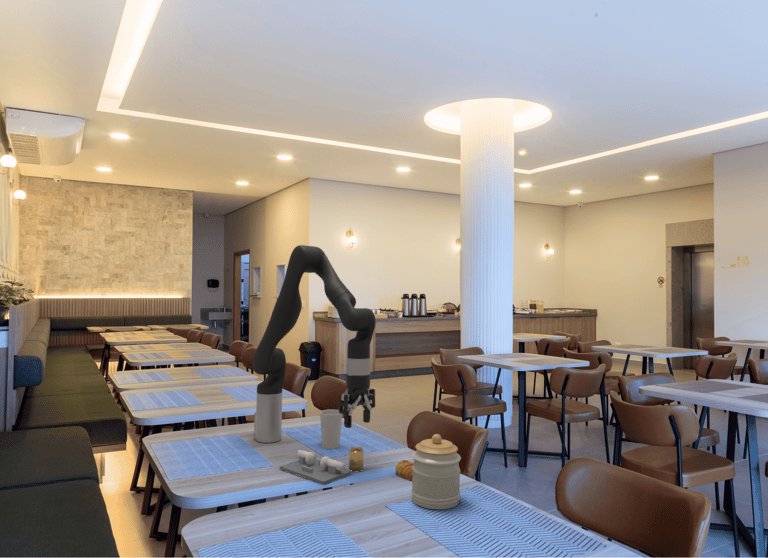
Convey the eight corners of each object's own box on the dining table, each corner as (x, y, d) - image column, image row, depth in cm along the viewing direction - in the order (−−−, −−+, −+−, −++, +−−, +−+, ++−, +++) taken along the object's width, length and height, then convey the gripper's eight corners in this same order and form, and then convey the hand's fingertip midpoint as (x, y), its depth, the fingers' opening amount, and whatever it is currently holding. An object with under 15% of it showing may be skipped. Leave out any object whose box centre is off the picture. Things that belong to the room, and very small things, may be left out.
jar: (403, 494, 147) (404, 430, 147) (444, 488, 152) (445, 426, 152) (425, 513, 135) (426, 443, 135) (469, 506, 140) (470, 438, 140)
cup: (343, 443, 194) (344, 410, 194) (339, 450, 186) (340, 415, 186) (321, 442, 195) (322, 409, 195) (317, 448, 187) (317, 414, 187)
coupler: (346, 469, 166) (346, 448, 166) (355, 466, 169) (356, 445, 170) (356, 473, 163) (357, 451, 163) (366, 469, 167) (366, 448, 167)
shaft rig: (279, 469, 165) (280, 452, 165) (308, 460, 174) (309, 444, 174) (323, 484, 153) (324, 467, 153) (352, 474, 162) (352, 457, 162)
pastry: (427, 480, 159) (427, 467, 159) (407, 483, 156) (407, 470, 156) (411, 470, 168) (411, 458, 168) (392, 473, 165) (392, 460, 165)
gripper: (364, 368, 175) (363, 418, 174) (333, 373, 164) (332, 427, 163) (382, 371, 170) (381, 422, 170) (351, 376, 159) (350, 431, 159)
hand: (357, 424), depth 167 cm, fingers open, 8 cm apart
